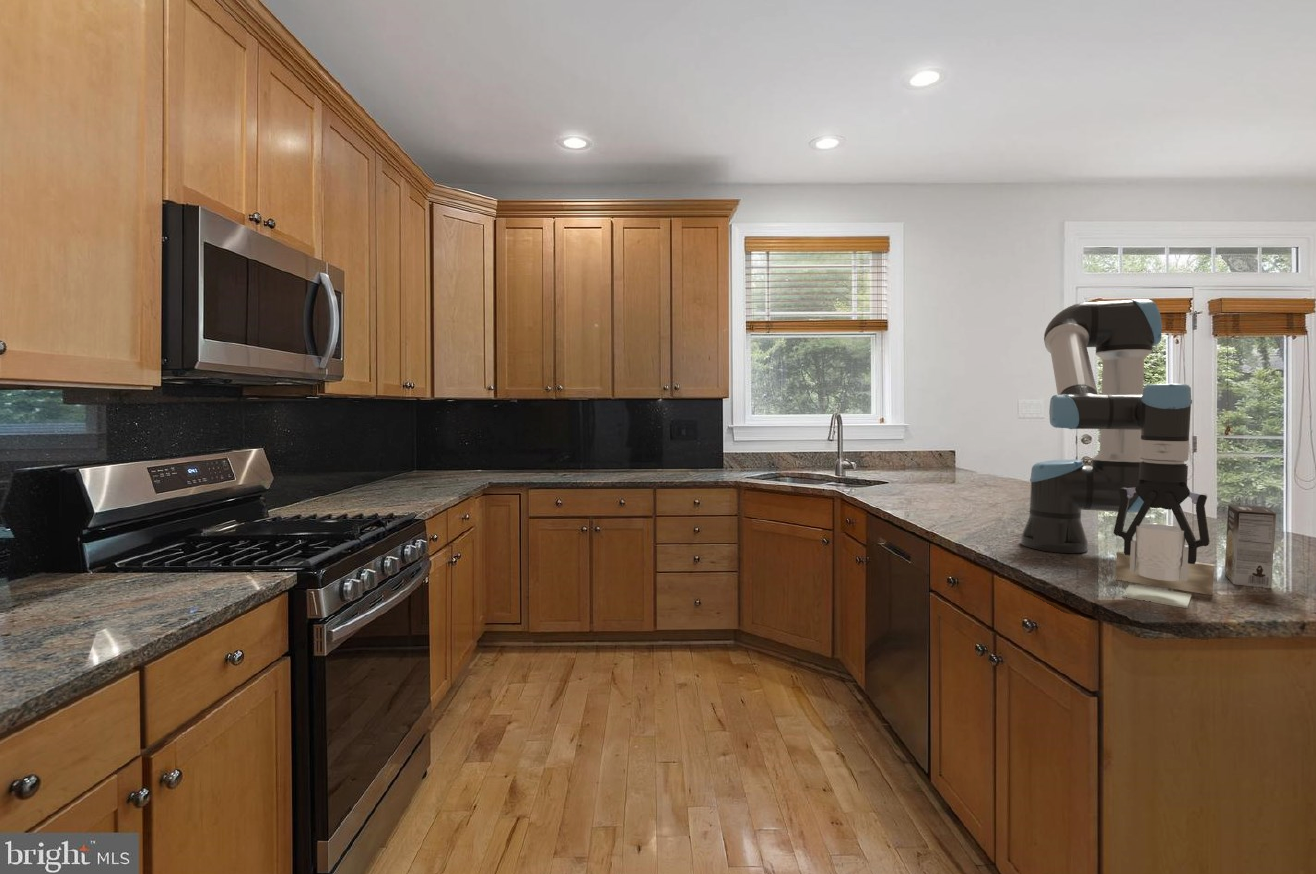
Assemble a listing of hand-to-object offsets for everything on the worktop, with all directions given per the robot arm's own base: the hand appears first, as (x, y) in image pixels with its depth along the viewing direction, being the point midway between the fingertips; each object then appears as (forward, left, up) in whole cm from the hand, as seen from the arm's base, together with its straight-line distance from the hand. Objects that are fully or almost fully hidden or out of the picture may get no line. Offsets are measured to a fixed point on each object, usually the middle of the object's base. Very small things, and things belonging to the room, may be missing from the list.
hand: (1158, 575), depth 126 cm
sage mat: (0, 0, -4) cm, 4 cm away
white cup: (0, 0, 0) cm, 0 cm away
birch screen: (0, +10, -4) cm, 11 cm away
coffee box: (+13, +27, -5) cm, 30 cm away
